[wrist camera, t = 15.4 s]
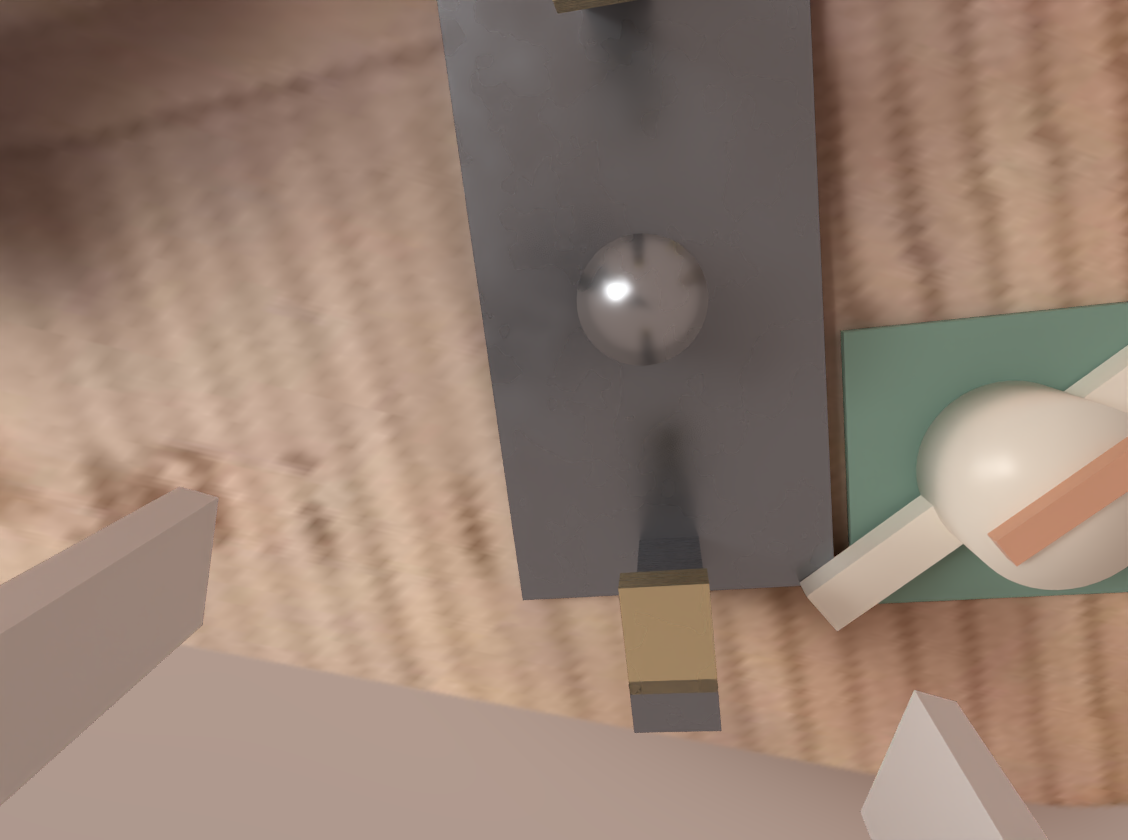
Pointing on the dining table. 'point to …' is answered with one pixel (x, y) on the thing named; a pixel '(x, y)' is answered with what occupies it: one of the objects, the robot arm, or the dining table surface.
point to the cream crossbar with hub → (1004, 494)
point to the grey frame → (650, 308)
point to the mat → (928, 385)
